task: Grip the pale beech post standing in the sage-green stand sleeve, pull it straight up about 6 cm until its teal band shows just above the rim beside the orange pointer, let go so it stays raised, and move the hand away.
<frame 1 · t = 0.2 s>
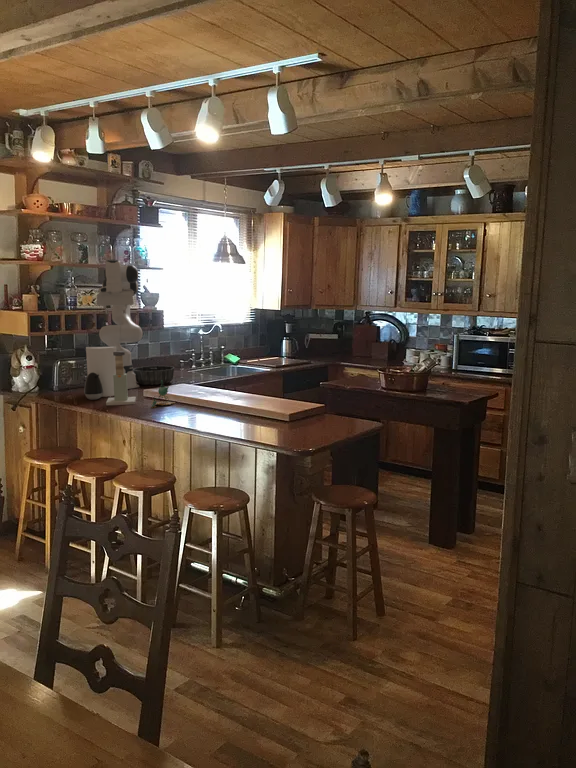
hand: (115, 313, 386), 48 cm above the table, fingers open, 8 cm apart
column: (120, 375, 373), point 15 cm above the table, slide at 0.0 cm
stand base: (121, 402, 376), on the table
bundt pan: (154, 383, 439), on the table, touching arm
dark grey egg shape: (94, 399, 387), on the table
frog figurine: (161, 405, 366), on the table
white tall block: (104, 394, 402), on the table
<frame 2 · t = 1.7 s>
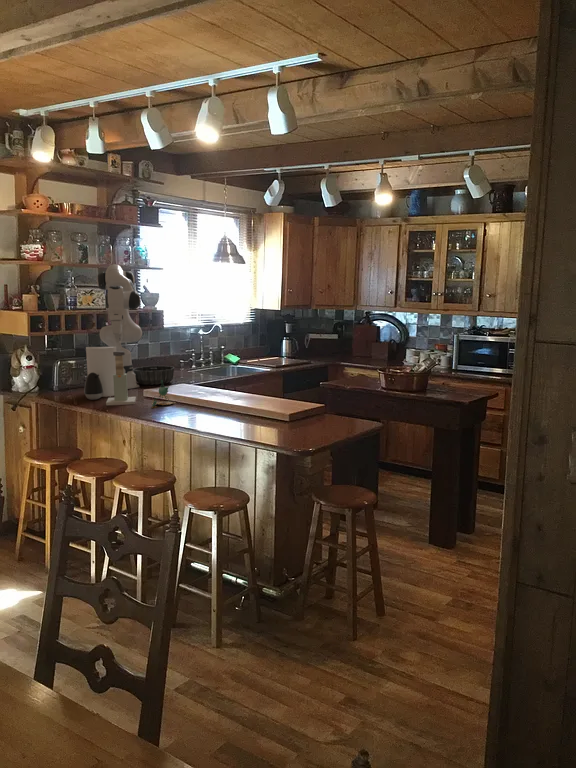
hand: (118, 341, 370), 33 cm above the table, fingers open, 8 cm apart
nothing on the table moved.
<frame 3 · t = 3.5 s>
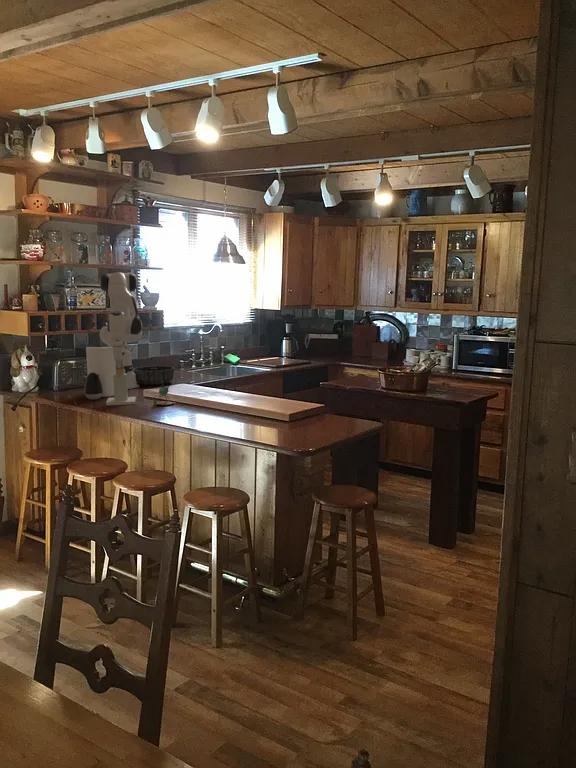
hand: (119, 366, 373), 20 cm above the table, fingers closed on column, 4 cm apart
column: (120, 375, 373), point 15 cm above the table, slide at 0.0 cm, touching gripper
everything else where it was.
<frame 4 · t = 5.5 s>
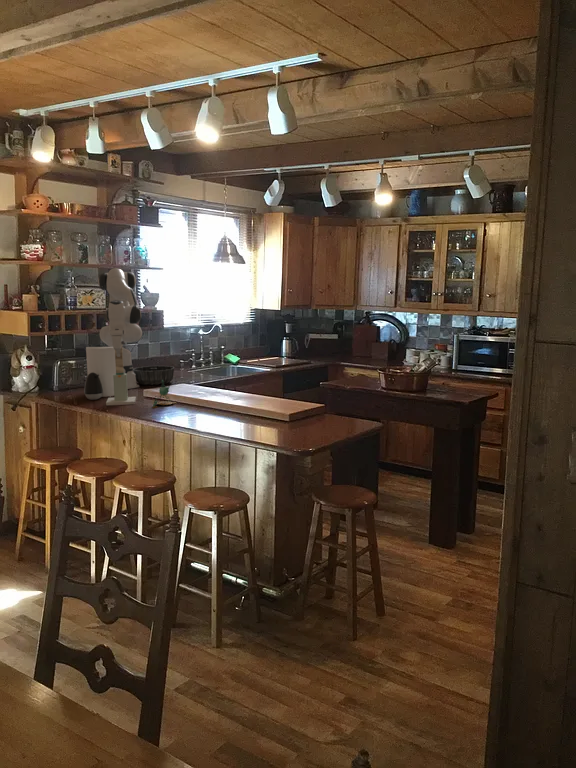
hand: (119, 356, 372), 26 cm above the table, fingers closed on column, 4 cm apart
column: (119, 364, 372), point 21 cm above the table, slide at 5.9 cm, touching gripper
everything else where it was.
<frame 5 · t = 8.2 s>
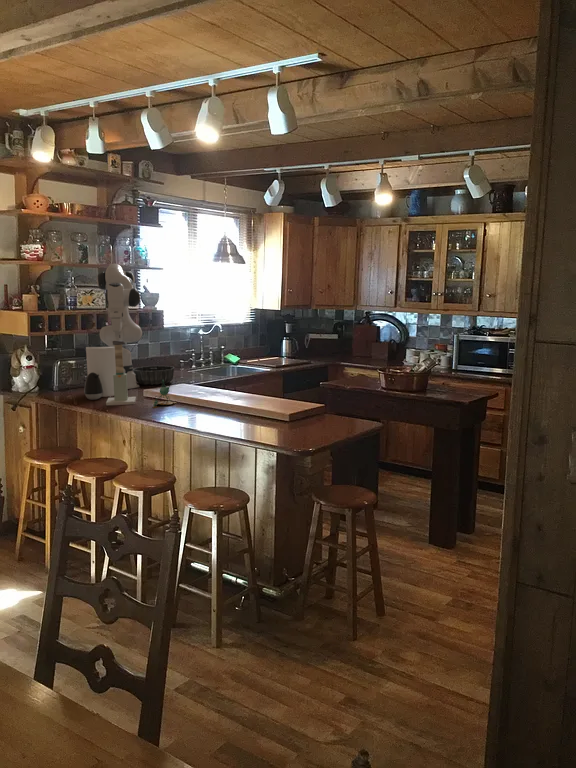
hand: (118, 339, 370), 35 cm above the table, fingers open, 8 cm apart
column: (119, 364, 372), point 21 cm above the table, slide at 5.9 cm
everything else where it was.
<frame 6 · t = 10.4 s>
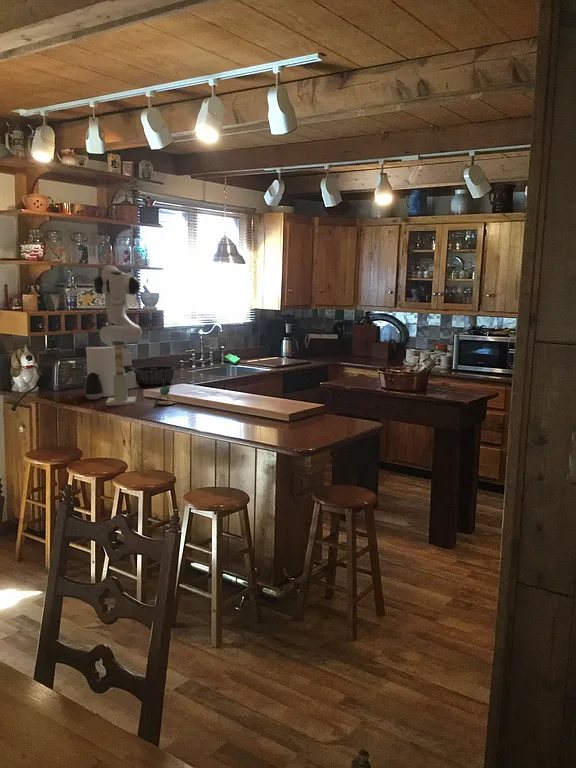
hand: (119, 325, 383), 41 cm above the table, fingers open, 8 cm apart
at the end: column slide at 5.9 cm; the gripper is holding nothing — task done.
